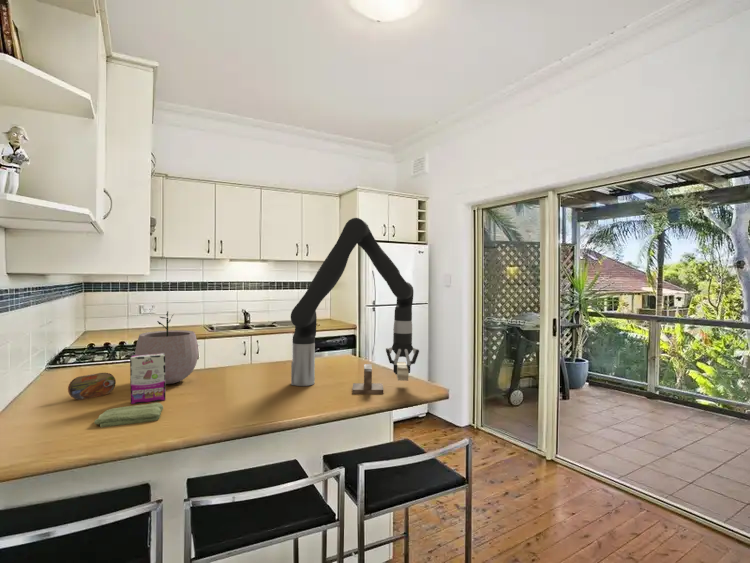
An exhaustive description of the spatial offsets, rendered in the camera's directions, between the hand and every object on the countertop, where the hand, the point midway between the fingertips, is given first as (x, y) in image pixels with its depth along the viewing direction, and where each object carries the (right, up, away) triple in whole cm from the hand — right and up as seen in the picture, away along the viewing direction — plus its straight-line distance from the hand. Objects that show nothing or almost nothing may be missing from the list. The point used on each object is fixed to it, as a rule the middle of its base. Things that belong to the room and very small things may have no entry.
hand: (401, 373), depth 173 cm
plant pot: (-98, -5, +7) cm, 98 cm away
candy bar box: (-92, -6, -19) cm, 94 cm away
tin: (-115, -6, -14) cm, 117 cm away
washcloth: (-88, -7, -38) cm, 96 cm away
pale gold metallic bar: (0, -1, 0) cm, 1 cm away
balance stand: (-14, -6, -2) cm, 15 cm away
